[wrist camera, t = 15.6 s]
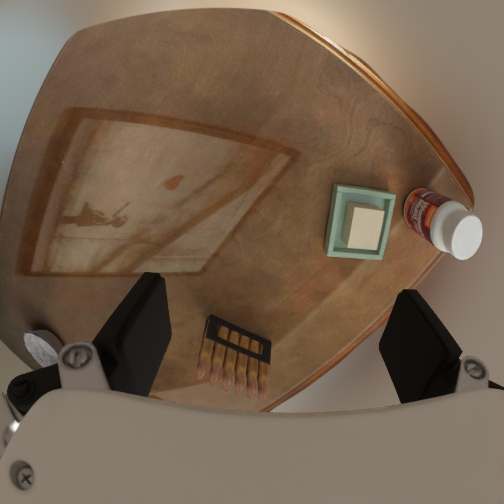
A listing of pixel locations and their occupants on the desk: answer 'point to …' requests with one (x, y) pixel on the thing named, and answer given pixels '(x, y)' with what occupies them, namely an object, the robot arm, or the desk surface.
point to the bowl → (43, 346)
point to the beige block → (362, 225)
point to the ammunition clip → (235, 356)
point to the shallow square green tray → (337, 217)
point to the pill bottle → (443, 222)
